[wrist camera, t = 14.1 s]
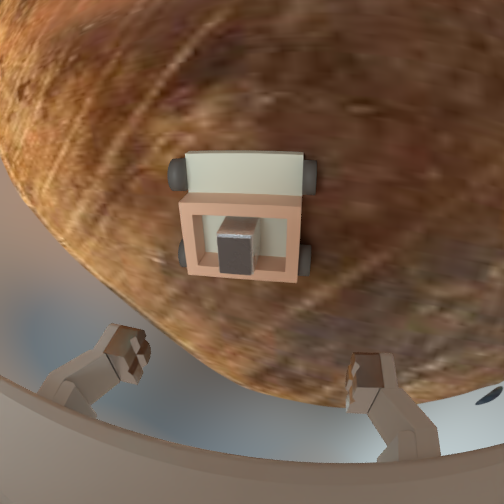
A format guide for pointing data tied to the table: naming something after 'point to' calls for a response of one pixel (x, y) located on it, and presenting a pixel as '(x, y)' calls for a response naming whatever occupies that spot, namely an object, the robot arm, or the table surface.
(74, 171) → the table surface
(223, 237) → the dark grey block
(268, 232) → the chassis
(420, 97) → the table surface
